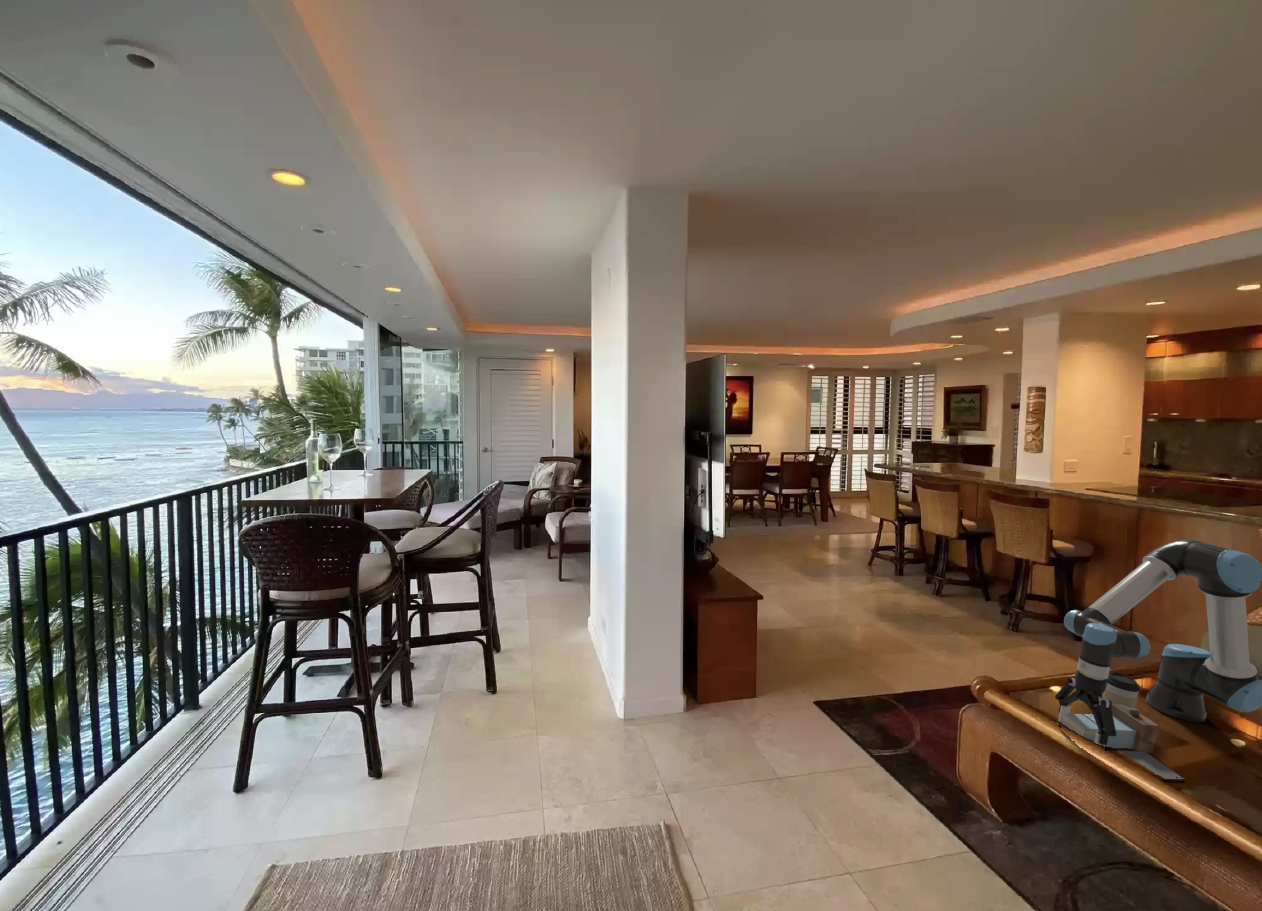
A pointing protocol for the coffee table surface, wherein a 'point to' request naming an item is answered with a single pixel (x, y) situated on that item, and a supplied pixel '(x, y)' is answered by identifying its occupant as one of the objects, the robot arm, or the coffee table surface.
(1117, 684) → the coffee cup
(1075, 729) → the light blue block
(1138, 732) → the brown block with knob
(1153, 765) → the coaster
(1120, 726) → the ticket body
